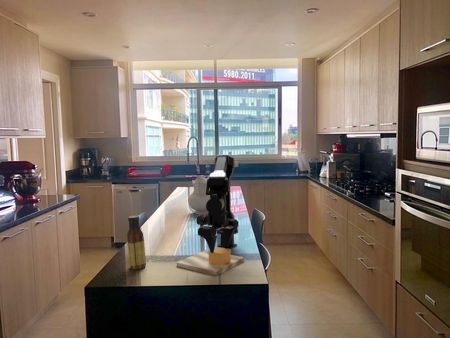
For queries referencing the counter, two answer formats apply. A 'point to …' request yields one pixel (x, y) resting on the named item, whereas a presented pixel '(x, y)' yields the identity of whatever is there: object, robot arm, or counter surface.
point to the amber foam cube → (220, 256)
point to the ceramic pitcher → (199, 196)
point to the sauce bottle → (135, 244)
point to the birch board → (207, 263)
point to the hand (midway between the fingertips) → (219, 249)
